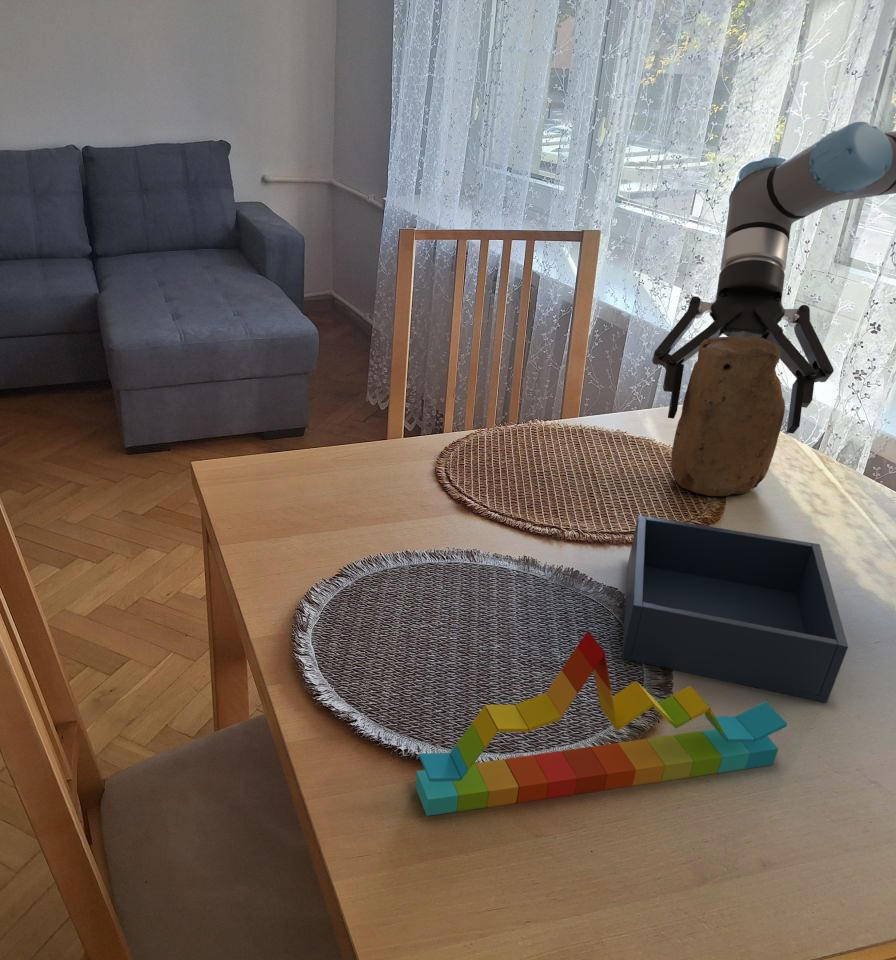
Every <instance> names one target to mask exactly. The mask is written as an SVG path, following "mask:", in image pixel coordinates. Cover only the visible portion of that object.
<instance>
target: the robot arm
mask: <svg viewBox="0 0 896 960" xmlns="http://www.w3.org/2000/svg"><path fill="white" fill-rule="evenodd" d="M894 194H896V130H895V131H887V132H884V131H883V129H881V128H880V127H878V126H876V125H871V123H870V122H868V121H855V122H851V123H849V124H847V125H845V126H843V127H842V128H839V129H837V130H835V131H832V132H830V133H827V134H826V135H825V136H824V137H821V138H820V139H819V140H818V141H816V142H815V143H813V144H812V145H810V146H808V147H807V148H805V149H803V150H802V151H800V152H798V153H797V154H795V155H794V156H792V157H790V158H788V159H786V158H785V157H778V156H765V157H762V159H760V160H756V159H755V160H754V159H753V160H751V161H749V162H747V163H745V164H744V165H743V166H741V167H740V169H739V170H738V171H737V172H736V174H735V176H734V180H733V184H732V190H731V191H730V195H729V198H728V213H727V219H726V227H725V233H724V242H723V249H722V256H721V262H720V268H719V269H720V272H719V275H718V281H717V287H716V293H715V294H716V295H715V300H714V301H713V302H708V301H703V300H701V298H700V297H699V296H696V295H695V296H692V297H691V298H690V301H689V304H688V306H687V309H686V312H685V313H684V314H683V315H682V317H681V318H680V319H679V320H678V322H677V323H676V324H675V325H674V327H673V328H672V329H671V330H670V331H669V333H668V334H667V335H666V337H665V338H664V339H663V340H662V341H661V343H660V344H659V345H658V347H657V348H656V349H655V350H654V352H653V356H652V359H651V362H652V364H653V365H655V366H662V367H663V368H664V370H665V373H664V378H663V384H662V389H663V392H668V393H671V395H670V400H669V407H668V413H667V419H675V417H676V415H677V412H678V407H679V401H680V395H681V387H682V381H683V376H684V369H685V368H684V367H685V362H687V361H688V360H690V359H691V358H692V357H693V356H695V355H696V354H698V352H699V347H700V345H701V343H702V342H703V341H704V340H705V339H709V338H714V337H722V335H724V336H725V337H728V336H739V337H746V338H747V337H752V336H755V337H762V338H764V339H766V340H769V341H771V342H773V343H775V344H777V345H778V348H779V352H780V359H779V360H780V361H781V362H782V363H783V364H784V366H785V367H786V368H787V369H788V370H789V371H790V373H791V374H792V375H793V377H795V381H794V382H793V383H792V385H791V394H790V402H789V410H788V418H787V426H786V434H795V433H796V431H797V430H798V429H799V428H800V425H801V418H802V408H806V409H807V408H808V407H809V405H811V403H812V402H813V398H814V388H815V383H818V382H819V383H825V382H827V381H828V380H829V379H830V377H831V376H832V374H833V373H834V369H835V368H834V367H833V366H832V362H831V360H830V359H829V356H828V355H827V353H826V350H825V349H824V346H823V344H822V343H821V341H820V338H819V337H818V334H817V333H816V331H815V329H814V326H813V324H812V322H811V309H810V306H809V305H807V304H802V305H800V306H799V307H798V308H784V305H783V303H782V301H783V300H782V299H783V291H784V283H785V276H786V275H785V271H786V269H787V260H788V253H789V252H788V251H789V244H790V237H791V234H790V233H791V229H792V225H793V224H794V223H795V222H797V221H799V220H801V219H804V218H806V217H808V216H810V215H812V214H813V213H816V212H818V211H819V210H822V209H824V208H825V207H828V206H830V205H832V204H835V203H838V202H842V201H851V200H857V199H864V198H865V199H866V198H871V197H878V196H887V195H894ZM706 314H709V316H710V318H711V319H712V322H711V323H710V324H709V326H708V327H706V328H705V329H703V330H702V331H701V332H700V333H698V334H697V335H696V336H695V337H693V338H692V339H690V340H689V341H688V342H686V343H685V344H683V346H681V347H680V348H679V349H677V350H676V351H675V352H673V353H672V354H670V353H671V351H672V350H673V349H674V348H675V346H676V345H677V344H678V343H679V342H680V340H681V339H682V338H683V337H684V336H685V334H686V333H687V332H688V330H689V329H690V328H691V327H692V325H693V324H694V322H695V319H697V320H698V319H701V318H703V316H704V315H706ZM782 320H785V321H786V322H787V324H788V325H789V327H790V328H793V331H794V334H795V337H796V339H797V341H798V343H799V345H800V347H801V350H802V351H803V353H804V355H805V357H804V355H802V353H801V352H800V351H799V350H798V348H797V347H796V345H794V344H793V343H792V342H791V340H790V339H789V338H788V336H787V335H785V333H784V331H783V328H782V327H781V325H779V323H780V322H781V321H782Z"/></svg>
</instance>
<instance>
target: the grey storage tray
mask: <svg viewBox="0 0 896 960" xmlns="http://www.w3.org/2000/svg"><path fill="white" fill-rule="evenodd" d="M632 538H633V539H632V543H631V548H630V551H629V552H630V553H629V557H628V561H627V571H626V572H627V574H626V587H625V588H626V589H625V600H624V601H625V603H624V618H623V633H622V647H621V659H622V660H628V661H631V662H636V663H642V664H646V665H650V666H655V667H659V668H665V669H669V670H673V671H678V672H683V673H687V674H692V675H697V676H701V677H706V678H710V679H715V680H719V681H725V682H728V683H729V682H730V683H733V684H739V685H741V686H742V685H743V686H747V687H751V688H757V689H761V690H766V691H770V692H775V693H780V694H784V695H789V696H793V697H798V698H801V699H802V698H803V699H807V700H812V701H815V702H816V701H818V702H820V703H821V702H822V703H828V700H829V698H830V695H831V693H832V691H833V688H834V685H835V682H836V681H837V678H838V674H839V673H840V669H841V667H842V664H843V662H844V659H845V656H846V653H847V652H848V649H849V645H848V641H847V637H846V634H845V631H844V627H843V623H842V620H841V615H840V612H839V608H838V605H837V602H836V598H835V594H834V590H833V587H832V584H831V580H830V577H829V573H828V570H827V565H826V562H825V558H824V554H823V551H822V547H821V544H820V543H815V542H811V541H802V540H798V539H797V540H796V539H790V538H784V537H778V536H771V535H765V534H759V533H753V532H748V531H747V532H746V531H742V530H741V531H740V530H734V529H728V528H722V527H716V526H709V525H703V524H696V523H691V522H685V521H678V520H672V519H667V518H659V517H653V516H646V515H641V514H638V515H637V520H636V524H635V529H634V533H633V537H632Z"/></svg>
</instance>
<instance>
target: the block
mask: <svg viewBox="0 0 896 960" xmlns="http://www.w3.org/2000/svg"><path fill="white" fill-rule="evenodd" d="M780 360H781V359H780V352H779V348H778V345H777V344H775V343H773V342H771V341H769V340H766V339H764V338H762V337H755V336H752V337H747V338H746V337H739V336H720V337H714V338H709V339H705V340H704V341H703V342H702V343H701V345H700V347H699V351H698V352H697V360H696V361H695V363H694V364H693V368H692V370H691V374H690V376H689V380H688V383H687V387H686V391H685V394H684V397H683V403H682V407H681V413H680V417H679V419H678V422H677V424H676V429H675V433H674V439H673V443H672V449H671V458H670V461H671V462H670V467H671V471H672V476H673V478H674V480H675V481H676V484H677V485H679V486H680V487H681V488H683V489H686V490H688V491H690V492H692V493H695V494H699V495H702V496H707V497H726V496H730V495H741V494H747V493H749V492H751V490H754V489H755V488H757V487H758V485H759V484H760V483H761V482H762V481H764V479H765V477H767V474H768V471H769V469H770V467H771V463H772V460H773V458H774V454H775V451H776V448H777V444H778V440H779V437H780V433H781V429H782V425H783V421H784V417H785V412H786V411H785V410H786V401H785V399H784V397H783V391H782V384H781V379H780V378H779V376H778V375H777V371H776V368H777V365H778V363H779V361H780Z"/></svg>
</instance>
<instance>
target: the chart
mask: <svg viewBox="0 0 896 960" xmlns="http://www.w3.org/2000/svg"><path fill="white" fill-rule="evenodd" d="M593 673H594V678H595V684H596V690H597V695H598V701H599V706H600V709H601V710H602V712H603V713H604V716H606V718H607V719H608V721H609V722H610V723H611V725H612V726H613V728H614V729H615V730H616V731H617V732H619V731H620V730H621V729H623V728H624V727H626V726H627V725H629V724H630V723H632V722H633V721H635V720H636V719H637V718H639V717H641V716H642V715H643V714H644V713H646V712H647V711H650V709H652V708H653V709H654V710H656V712H657V713H658V714H660V716H662V718H663V719H664V720H666V721H667V722H668V723H669V724H670V725H671V726H672V727H673V728H674V729H675V730H677V729H679V728H680V727H682V726H684V725H686V724H688V723H689V722H690V721H693V720H695V719H697V718H698V717H700V716H702V715H705V718H706V719H707V720H708V721H709V723H710V724H711V725H712V726H713V728H712V729H706V730H699V731H692V732H685V733H677V734H671V735H670V734H669V735H664V736H656V737H651V738H649V737H648V738H642V739H635V740H629V741H622V742H621V741H620V742H614V743H608V744H600V745H593V746H587V747H578V748H572V749H566V750H558V751H552V752H544V753H538V754H530V755H524V756H523V755H522V756H516V757H509V758H503V759H495V760H489V761H482V762H477V760H478V759H479V758H480V756H481V755H482V754H483V753H484V751H485V750H486V748H488V746H489V745H490V743H491V742H492V740H494V738H495V736H496V735H497V734H498V733H530V732H532V731H534V730H537V729H540V728H542V727H545V726H547V725H550V724H553V723H555V722H558V721H560V720H561V719H562V718H563V717H564V715H565V713H566V712H567V711H568V709H569V708H570V706H571V705H572V703H573V702H574V700H575V699H576V697H577V695H578V694H579V693H580V691H581V690H582V689H583V687H584V686H585V684H586V683H587V681H588V679H590V677H591V675H592V674H593ZM612 691H613V690H612V686H611V680H610V674H609V667H608V662H607V657H606V652H605V650H604V649H603V648H602V647H601V645H600V644H599V643H598V641H597V640H596V639H595V638H594V636H593V635H592V633H590V631H589V630H586V632H585V633H584V635H583V636H582V637H581V640H580V641H579V643H578V644H577V646H576V647H575V649H574V650H573V652H572V653H571V655H570V656H569V658H568V659H567V660H566V662H565V664H564V665H563V666H562V668H561V670H560V671H559V673H558V674H557V675H556V677H555V679H554V680H553V681H552V683H551V685H550V686H549V688H548V689H547V690H546V692H545V693H542V694H539V695H537V696H534V697H532V698H531V697H530V698H529V699H526V700H524V701H521V702H519V703H516V704H485V705H483V707H482V709H481V710H480V711H479V713H478V714H477V716H476V717H475V718H474V719H473V720H472V722H471V723H470V725H469V726H468V728H467V729H466V730H465V732H464V733H463V734H462V736H461V737H460V738H459V740H458V741H457V742H456V744H455V745H454V746H453V748H452V749H451V751H449V752H423V753H422V752H419V754H418V756H419V759H420V762H421V765H422V766H423V769H422V770H416V775H415V786H414V787H415V790H416V792H417V796H418V797H419V800H420V803H421V805H422V808H423V811H424V813H425V815H426V817H429V816H436V815H442V814H449V813H455V812H456V813H457V812H463V811H465V812H466V811H470V810H476V809H477V810H478V809H484V808H493V807H499V806H505V805H512V804H518V803H526V802H533V801H540V800H546V799H547V800H548V799H553V798H559V797H565V796H566V797H567V796H573V795H579V794H586V793H593V792H600V791H606V790H613V789H614V790H615V789H620V788H627V787H634V786H640V785H646V784H647V785H648V784H654V783H660V782H666V781H672V780H679V779H687V778H694V777H700V776H706V775H714V774H720V773H727V772H734V771H735V772H736V771H741V770H747V769H754V768H760V767H767V766H773V765H774V762H775V761H776V757H777V754H778V751H779V747H778V746H777V745H776V744H775V743H774V742H773V741H772V739H771V738H769V736H771V735H772V734H774V733H776V732H778V731H780V730H782V729H785V728H786V727H788V722H787V721H786V720H785V719H784V718H783V717H782V716H781V715H780V714H779V713H778V712H777V711H776V710H775V709H774V708H773V706H772V705H771V704H770V703H769V702H768V701H763V702H762V703H760V704H758V705H756V706H753V707H751V708H749V709H748V710H745V711H743V712H741V713H740V714H738V715H735V716H734V715H733V716H732V715H731V716H724V715H723V716H716V715H715V713H714V711H713V710H712V708H711V706H709V704H708V703H707V702H706V701H705V700H704V698H702V696H701V695H700V694H699V693H698V692H697V690H696V689H694V687H693V686H692V685H688V686H686V687H684V688H683V689H681V690H679V691H678V692H675V693H674V694H672V695H670V696H668V697H667V698H665V699H663V700H661V701H659V702H658V701H657V699H655V698H654V697H653V696H652V695H651V694H650V693H649V692H648V691H647V689H645V688H644V687H643V686H642V685H641V684H640V683H639V682H638V681H636V680H634V681H632V682H631V683H630V684H629V685H627V686H626V687H625V688H623V689H621V690H620V691H619V692H617V693H616V694H615V695H613V692H612Z"/></svg>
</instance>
